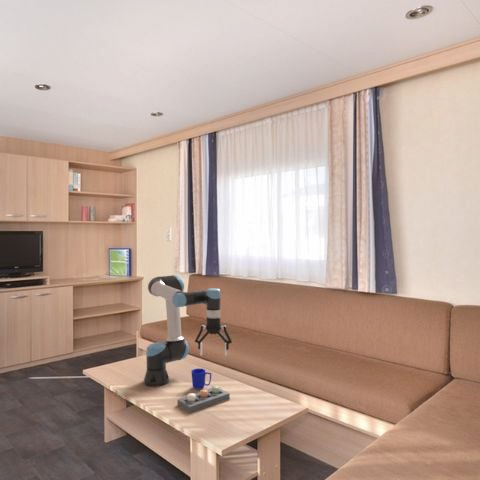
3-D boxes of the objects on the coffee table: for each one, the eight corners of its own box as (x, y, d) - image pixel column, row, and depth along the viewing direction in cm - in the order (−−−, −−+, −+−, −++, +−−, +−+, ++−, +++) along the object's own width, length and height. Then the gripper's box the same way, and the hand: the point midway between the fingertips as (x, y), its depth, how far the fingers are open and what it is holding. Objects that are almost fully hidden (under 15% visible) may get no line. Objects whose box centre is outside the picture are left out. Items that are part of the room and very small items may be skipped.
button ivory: (185, 400, 207) (185, 394, 207) (192, 398, 210) (192, 392, 210) (190, 403, 204) (190, 397, 204) (197, 400, 207) (197, 395, 206)
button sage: (210, 392, 217) (210, 386, 217) (216, 390, 220) (216, 384, 220) (214, 394, 214) (214, 389, 214) (221, 392, 217) (221, 387, 217)
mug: (209, 391, 226) (209, 374, 226) (189, 389, 229) (189, 372, 228) (213, 385, 234) (213, 369, 234) (194, 384, 237) (193, 368, 237)
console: (177, 405, 208) (177, 399, 208) (216, 392, 225) (216, 386, 225) (189, 412, 199) (189, 407, 199) (229, 398, 216) (229, 393, 216)
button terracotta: (198, 396, 212) (198, 390, 212) (205, 394, 215) (204, 388, 215) (202, 398, 209) (202, 393, 209) (209, 396, 212) (209, 391, 212)
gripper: (189, 318, 211) (189, 356, 212) (235, 318, 210) (235, 357, 210) (192, 315, 219) (192, 352, 219) (236, 315, 217) (236, 353, 218)
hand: (213, 355), depth 215 cm, fingers open, 13 cm apart
